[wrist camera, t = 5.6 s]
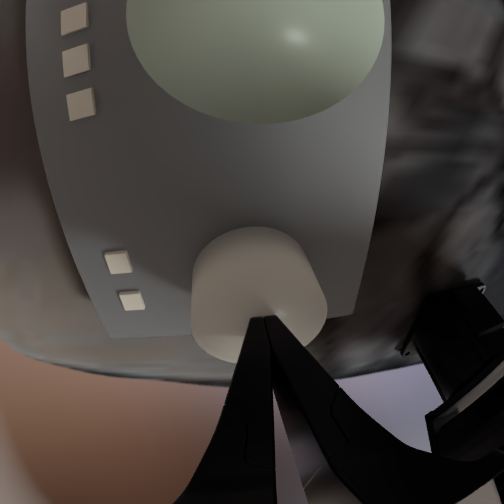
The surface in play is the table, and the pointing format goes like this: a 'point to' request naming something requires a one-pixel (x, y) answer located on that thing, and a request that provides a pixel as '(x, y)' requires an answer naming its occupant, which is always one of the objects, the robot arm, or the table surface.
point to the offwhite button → (253, 289)
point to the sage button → (257, 53)
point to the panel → (189, 171)
